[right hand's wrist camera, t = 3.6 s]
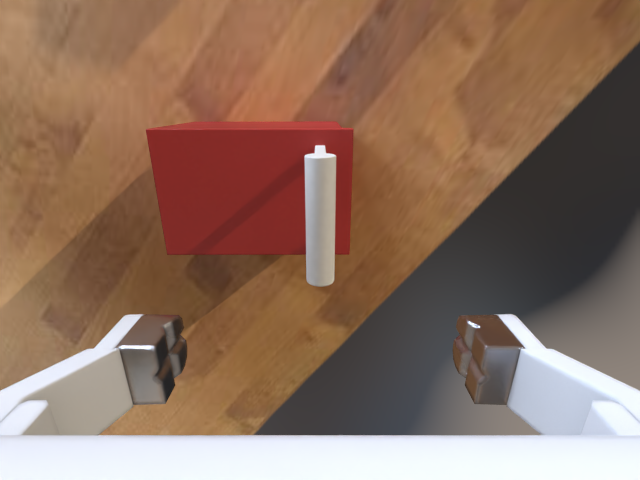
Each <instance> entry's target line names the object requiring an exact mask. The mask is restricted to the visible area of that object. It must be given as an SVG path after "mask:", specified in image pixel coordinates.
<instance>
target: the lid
mask: <svg viewBox="0 0 640 480" xmlns="http://www.w3.org/2000/svg"><path fill="white" fill-rule="evenodd" d="M146 133H147V139H148V145H149V151H150V157H151V162H152V168H153V174H154V180H155V186H156V191H157V197H158V203H159V209H160V215H161V221H162V226H163V232H164V238H165V244H166V250H167V255H301V254H306V277H307V282H308V283H309V284H311V285H313V286H320V287H321V286H328V285H330V284H332V283H333V282H334V271H335V254H349V253H350V221H351V190H352V159H353V129H352V128H150V129H146Z"/></svg>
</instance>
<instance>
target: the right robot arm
mask: <svg viewBox="0 0 640 480" xmlns="http://www.w3.org/2000/svg"><path fill="white" fill-rule="evenodd" d="M183 328H184V326H183V321H182V318H181V317H180V316H179V315H148V314H146V315H144V314H129V315H125V316H124V317H123V318H122V319H121V320H120V321H119V322H118V323H117V324H116V325H115V326H114V327H113V328H112V330H111V331H110V332H109V333H108V334H107V335H106V336H105V337H104V338H103V339H102V340H101V341H100V342H99V343H98V345H97V346H96V347H95V348H94V349H86V350H84V351H82V352H80V353H78V354H76V355H74V356H72V357H70V358H68V359H66V360H63V361H61V362H59V363H57V364H55V365H53V366H51V367H49V368H47V369H45V370H42V371H40V372H38V373H36V374H34V375H32V376H30V377H28V378H26V379H24V380H22V381H19V382H17V383H15V384H13V385H11V386H9V387H7V388H5V389H3V390H1V391H0V480H640V391H639V390H637V389H635V388H633V387H631V386H629V385H627V384H625V383H622V382H620V381H618V380H616V379H614V378H612V377H610V376H608V375H606V374H604V373H602V372H599V371H597V370H595V369H593V368H591V367H589V366H587V365H585V364H583V363H581V362H579V361H576V360H574V359H572V358H570V357H568V356H566V355H564V354H562V353H560V352H558V351H556V350H554V349H546V348H545V347H544V346H543V345H542V344H541V342H540V341H539V340H538V339H537V338H536V337H535V336H534V335H533V334H532V333H531V332H530V331H529V329H528V328H527V327H526V326H525V325H524V324H523V323H522V322H521V321H520V320H519V319H518V318H517V317H516V316H515V315H512V314H502V315H468V316H459V318H458V320H457V325H456V328H457V330H458V332H459V334H460V335H459V336H458V337H457V338H456V339H455V340H454V344H453V359H454V363H455V366H456V369H457V371H458V373H459V374H460V375H462V376H463V377H465V378H466V382H465V386H466V388H467V390H468V392H469V394H470V396H471V398H472V400H473V402H474V403H475V404H497V405H507V407H508V408H509V409H511V410H512V411H513V412H514V413H515V414H517V415H518V416H519V417H520V418H521V419H523V420H524V421H525V422H526V423H528V424H529V425H530V426H531V427H532V428H534V429H535V430H536V431H537V432H539V433H540V434H541V435H99V434H100V433H102V432H103V431H104V430H105V429H106V428H108V427H109V426H110V425H111V424H113V423H114V422H115V421H116V420H117V419H119V418H120V417H121V416H122V415H124V414H125V413H126V412H127V411H128V410H130V409H131V408H132V407H133V405H143V404H166V402H167V400H168V398H169V396H170V394H171V392H172V390H173V388H174V386H175V382H174V378H175V377H177V376H178V375H180V374H181V373H182V371H183V369H184V366H185V363H186V358H187V344H186V340H185V339H184V338H183V337H182V336H181V335H180V334H181V332H182V330H183Z"/></svg>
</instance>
